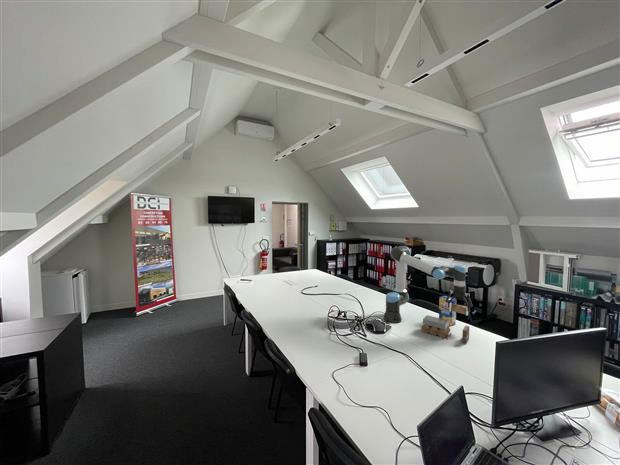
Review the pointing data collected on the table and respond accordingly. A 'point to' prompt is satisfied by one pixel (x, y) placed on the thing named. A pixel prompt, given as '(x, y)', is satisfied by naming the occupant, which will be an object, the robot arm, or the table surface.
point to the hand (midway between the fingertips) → (458, 313)
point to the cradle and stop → (463, 335)
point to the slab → (436, 322)
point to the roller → (458, 308)
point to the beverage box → (447, 310)
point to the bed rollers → (435, 330)
